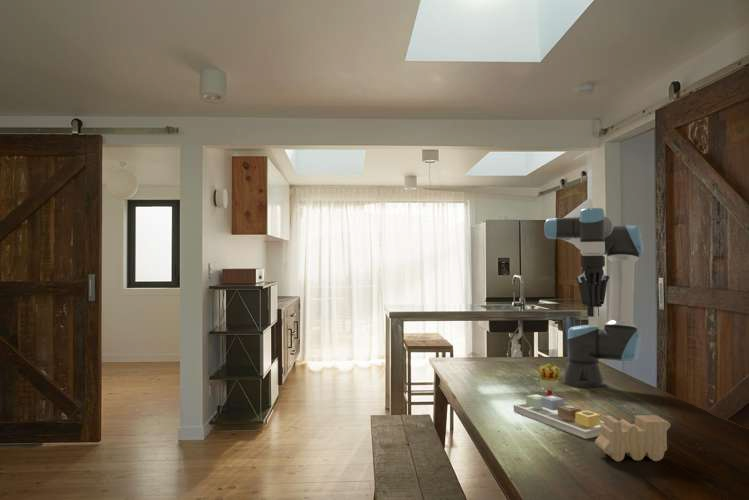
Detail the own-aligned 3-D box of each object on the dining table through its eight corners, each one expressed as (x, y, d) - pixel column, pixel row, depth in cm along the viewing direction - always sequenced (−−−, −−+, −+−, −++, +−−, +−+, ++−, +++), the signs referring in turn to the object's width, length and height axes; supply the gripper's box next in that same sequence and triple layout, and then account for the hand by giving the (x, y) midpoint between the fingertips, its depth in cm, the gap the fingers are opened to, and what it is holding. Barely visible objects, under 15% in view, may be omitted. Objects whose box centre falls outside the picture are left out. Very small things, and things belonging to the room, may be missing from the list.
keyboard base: (540, 406, 180) (540, 400, 180) (614, 432, 154) (614, 425, 154) (513, 410, 175) (513, 404, 175) (585, 438, 148) (585, 431, 148)
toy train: (595, 453, 137) (594, 415, 138) (658, 452, 138) (658, 414, 138) (604, 462, 132) (604, 422, 132) (671, 460, 132) (670, 421, 132)
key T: (569, 414, 164) (569, 403, 164) (581, 418, 160) (581, 407, 160) (557, 416, 162) (557, 405, 162) (569, 420, 158) (569, 410, 158)
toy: (561, 405, 181) (561, 361, 182) (540, 404, 183) (539, 361, 183) (558, 399, 188) (558, 357, 189) (537, 398, 190) (537, 357, 190)
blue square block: (552, 404, 171) (552, 394, 171) (563, 408, 166) (563, 398, 166) (541, 406, 169) (541, 396, 169) (552, 410, 164) (552, 400, 164)
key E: (537, 402, 177) (537, 393, 177) (547, 406, 173) (547, 396, 173) (526, 404, 175) (526, 395, 175) (536, 408, 171) (536, 398, 171)
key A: (587, 420, 158) (586, 409, 158) (600, 424, 154) (600, 413, 154) (575, 422, 156) (575, 411, 156) (588, 427, 152) (588, 416, 152)
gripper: (597, 254, 179) (598, 323, 179) (569, 255, 173) (570, 326, 173) (615, 254, 172) (616, 326, 172) (587, 255, 167) (588, 329, 166)
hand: (593, 326), depth 173 cm, fingers closed
